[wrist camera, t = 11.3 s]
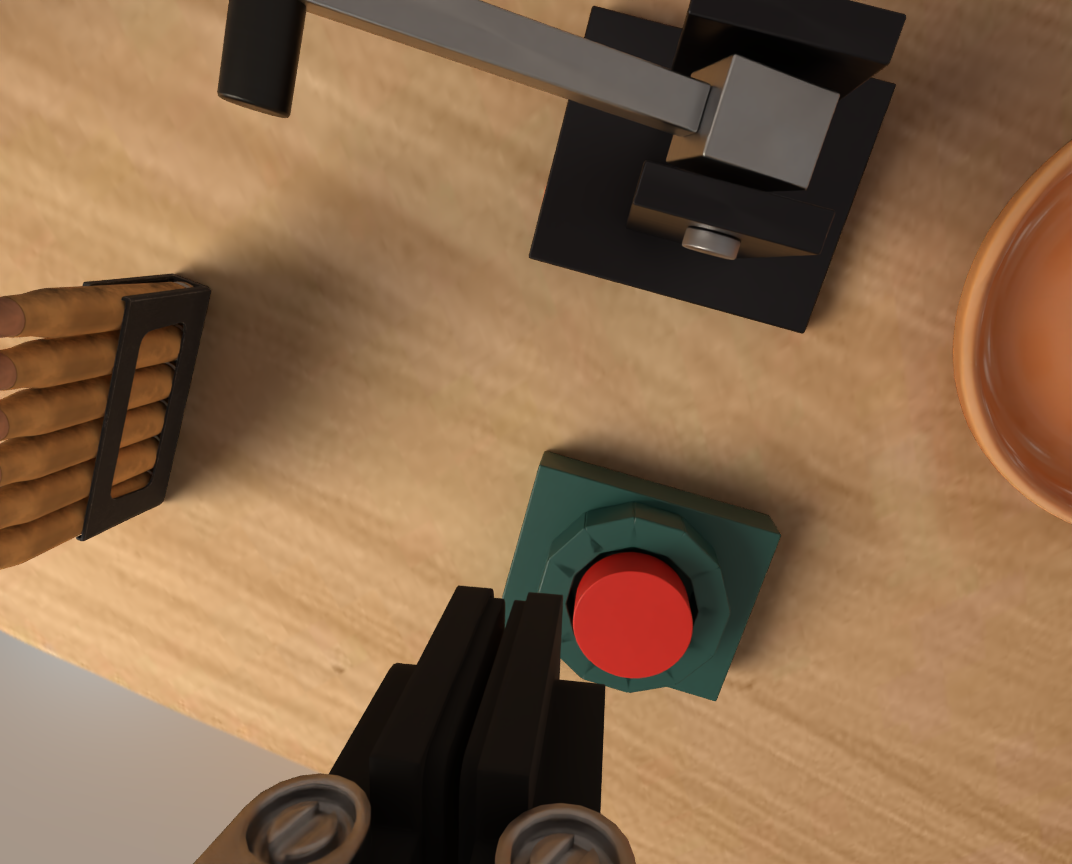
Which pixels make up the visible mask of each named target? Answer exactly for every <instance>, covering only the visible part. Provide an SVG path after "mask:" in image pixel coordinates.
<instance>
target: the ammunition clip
mask: <svg viewBox="0 0 1072 864" xmlns="http://www.w3.org/2000/svg"><path fill="white" fill-rule="evenodd" d="M210 294H211V290H210V289H209V287H207V286H204V285H201V284H199V283H196V282H194V281H191V280H188V279H186V278H183V277H180V276H178V275H175V274H163V275H153V276H143V277H132V278H122V279H112V280H101V281H89V282H84V283H83V286H80V287H59V288H44V289H38V290H34V291H30V292H27V293H23V294H19V295H10V296H2V297H0V338H3V337H11V338H14V337H28V336H34V337H43V338H44V339H38V340H32V341H27V342H24V343H22V344H19V345H17V346H14V347H12V348H8V349H3V350H0V390H2V391H5V390H12V389H18V388H29V389H24V390H21V391H18V392H16V393H14V394H11V395H9V396H7V397H5V398H3V399H0V441H2V440H6V441H4V442H2V443H1V444H0V570H1V569H4V568H8V567H12V566H15V565H19V564H21V563H24V562H26V561H28V560H30V559H32V558H34V557H36V556H38V555H40V554H42V553H44V552H46V551H48V550H50V549H52V548H54V547H56V546H58V545H60V544H62V543H64V542H66V541H68V540H70V539H72V538H74V537H76V536H78V535H80V534H82V535H80V536H78V537H76V539H77V540H80V541H85V540H87V539H89V538H91V537H93V536H96V535H98V534H100V533H102V532H104V531H106V530H108V529H110V528H112V527H114V526H116V525H118V524H120V523H122V522H124V521H126V520H128V519H130V518H132V517H135V516H137V515H139V514H141V513H143V512H145V511H147V510H150V509H152V508H154V507H156V506H158V505H160V504H161V503H162V502H163V501H164V498H165V494H166V489H167V485H168V481H169V476H170V472H171V467H172V463H173V458H174V454H175V449H176V445H177V441H178V436H179V432H180V427H181V423H182V418H183V414H184V409H185V405H186V401H187V396H188V392H189V387H190V383H191V378H192V374H193V369H194V365H195V360H196V356H197V352H198V347H199V343H200V338H201V334H202V329H203V325H204V320H205V316H206V312H207V307H208V303H209V298H210ZM7 439H8V440H7Z"/></svg>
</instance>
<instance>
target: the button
mask: <svg viewBox="0 0 1072 864" xmlns="http://www.w3.org/2000/svg"><path fill="white" fill-rule="evenodd" d="M573 630H574V635H575V638H576V641H577V643H578V645H579V647H580V649H581V650H582V652H583V653H584V655H585V656H586V657H587V658H588V659H589V660H590V661H591V662H592V663H593V664H594V665H596V666H597V667H599V668H600V669H602V670H604V671H606V672H608V673H610V674H613V675H616V676H620V677H625V678H645V677H650V676H654V675H656V674H659V673H661V672H663V671H665V670H667V669H669V668H670V667H672V666H673V665H674V664H675V663H676V662H678V661H679V659H680V658H681V657H682V656H683V655H684V653H685V651H686V650H687V648H688V646H689V644H690V641H691V637H692V632H693V620H692V614H691V609H690V605H689V600H688V596H687V592H686V589H685V586H684V584H683V582H682V580H681V579H680V577H679V575H678V574H677V573H676V572H675V571H674V570H673V569H672V568H671V567H670V566H669V565H668V564H666V563H665V562H663V561H662V560H660V559H658V558H656V557H653V556H651V555H648V554H643V553H637V552H623V553H617V554H613V555H610V556H608V557H605V558H603V559H601V560H600V561H598V562H597V563H595V564H594V565H593V566H591V567H590V568H589V569H588V570H587V572H586V573H585V574H584V576H583V577H582V579H581V581H580V583H579V585H578V588H577V592H576V598H575V606H574V615H573Z"/></svg>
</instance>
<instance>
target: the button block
mask: <svg viewBox="0 0 1072 864" xmlns="http://www.w3.org/2000/svg"><path fill="white" fill-rule="evenodd" d="M780 537H781V534H780V532H779V531H778V529H777V527H776V526H775V524H774V523H773V521H772V519H771V518H770V516H769V515H766V514H762V513H759V512H755V511H752V510H748V509H745V508H742V507H738V506H735V505H731V504H728V503H724V502H721V501H717V500H714V499H710V498H707V497H703V496H700V495H697V494H693V493H690V492H686V491H683V490H679V489H676V488H672V487H669V486H665V485H662V484H658V483H655V482H652V481H648V480H645V479H641V478H638V477H634V476H631V475H627V474H624V473H620V472H617V471H613V470H610V469H607V468H603V467H600V466H596V465H593V464H589V463H586V462H582V461H579V460H575V459H572V458H568V457H565V456H562V455H558V454H555V453H551V452H548V451H545V452H544V454H543V457H542V459H541V462H540V465H539V468H538V471H537V475H536V479H535V482H534V486H533V489H532V493H531V496H530V500H529V503H528V507H527V511H526V514H525V518H524V521H523V525H522V528H521V532H520V536H519V539H518V543H517V546H516V550H515V553H514V557H513V560H512V564H511V568H510V571H509V575H508V578H507V582H506V585H505V589H504V593H503V596H502V599H505V627H506V624H507V621H508V618H509V615H510V611H511V608H512V605H513V602H514V600H523V601H526V598H527V595H528V592H536V593H547V594H558V595H563V615H562V635H561V656H560V658H561V659H562V660H563V661H564V662H565V663H566V664H567V665H568V666H569V667H570V668H571V669H572V670H573V671H574V672H575V673H576V674H577V675H578V676H580V677H581V678H582V679H584V680H587V681H591V682H594V683H597V684H605V686H607V687H611V688H614V689H617V690H620V691H624V692H629V693H632V692H638V691H644V690H650V689H656V688H662V687H669V688H673V689H676V690H679V691H683V692H686V693H689V694H693V695H696V696H699V697H703V698H706V699H709V700H712V701H716V700H717V698H718V695H719V693H720V690H721V688H722V685H723V682H724V680H725V677H726V675H727V672H728V670H729V667H730V665H731V662H732V660H733V657H734V654H735V652H736V649H737V647H738V644H739V642H740V639H741V637H742V634H743V632H744V629H745V626H746V624H747V621H748V619H749V616H750V614H751V611H752V609H753V606H754V603H755V601H756V598H757V596H758V593H759V591H760V588H761V586H762V583H763V581H764V578H765V575H766V573H767V570H768V568H769V565H770V563H771V560H772V558H773V555H774V553H775V550H776V547H777V545H778V542H779V540H780ZM623 552H637V553H643V554H648V555H651V556H653V557H656V558H658V559H660V560H662V561H663V562H665V563H666V564H668V565H669V566H670V567H671V568H672V569H673V570H674V571H675V572H676V573H677V574H678V575H679V577H680V579H681V580H682V582H683V584H684V586H685V589H686V592H687V596H688V600H689V605H690V609H691V614H692V620H693V632H692V637H691V641H690V644H689V646H688V648H687V650H686V651H685V653H684V655H683V656H682V657H681V658H680V659H679V661H678V662H676V663H675V664H674V665H673V666H672V667H670V668H669V669H667V670H665V671H663V672H661V673H659V674H656V675H654V676H650V677H645V678H625V677H620V676H616V675H613V674H610V673H608V672H606V671H604V670H602V669H600V668H599V667H597V666H596V665H594V664H593V663H592V662H591V661H590V660H589V659H588V658H587V657H586V656H585V655H584V653H583V652H582V650H581V649H580V647H579V645H578V643H577V641H576V638H575V635H574V630H573V615H574V606H575V598H576V592H577V588H578V585H579V583H580V581H581V579H582V577H583V576H584V574H585V573H586V572H587V570H588V569H589V568H590V567H591V566H593V565H594V564H595V563H597V562H598V561H600V560H601V559H603V558H605V557H608V556H610V555H613V554H617V553H623Z"/></svg>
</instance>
